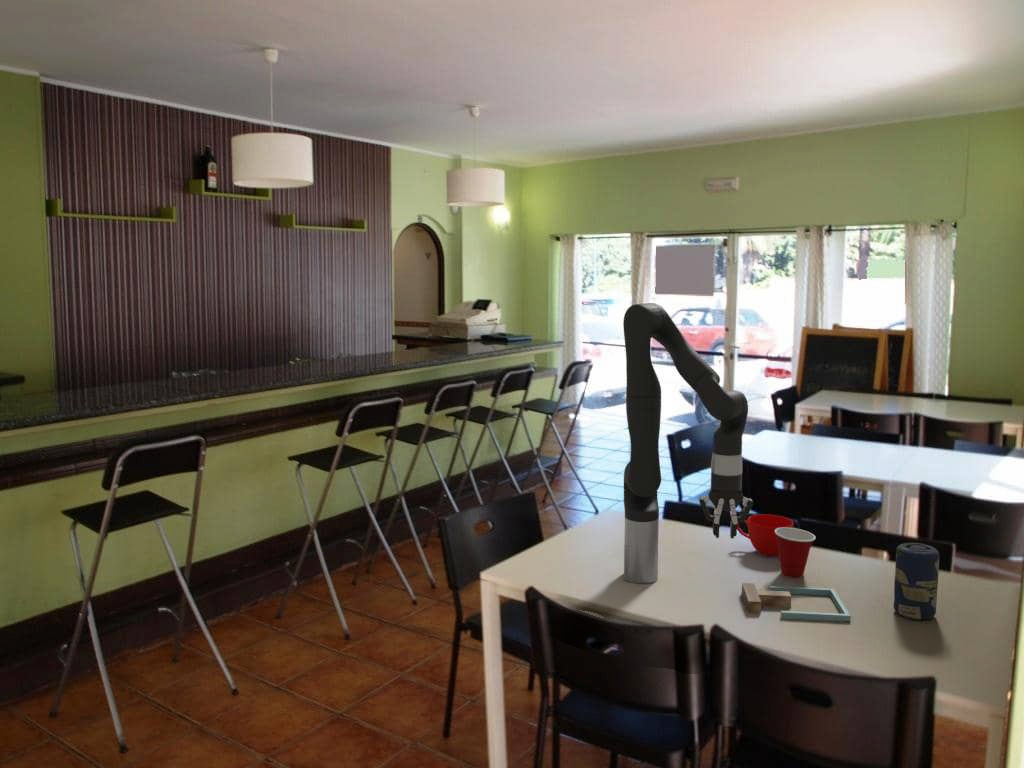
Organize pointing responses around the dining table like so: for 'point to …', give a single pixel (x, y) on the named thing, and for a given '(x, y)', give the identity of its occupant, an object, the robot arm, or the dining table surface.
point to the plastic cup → (793, 550)
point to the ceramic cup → (765, 532)
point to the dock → (814, 615)
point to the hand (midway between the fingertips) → (724, 536)
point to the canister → (916, 580)
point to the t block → (763, 598)
